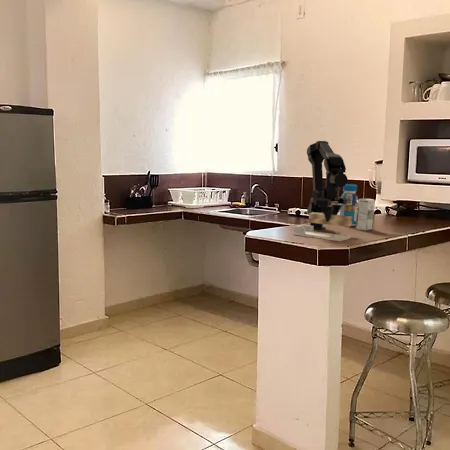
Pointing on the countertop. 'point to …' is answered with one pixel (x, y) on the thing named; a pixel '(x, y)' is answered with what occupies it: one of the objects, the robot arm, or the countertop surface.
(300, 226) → the bracket board
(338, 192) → the robot arm
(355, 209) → the beverage bottle
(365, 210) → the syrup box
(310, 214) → the oak rail
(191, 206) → the countertop surface
